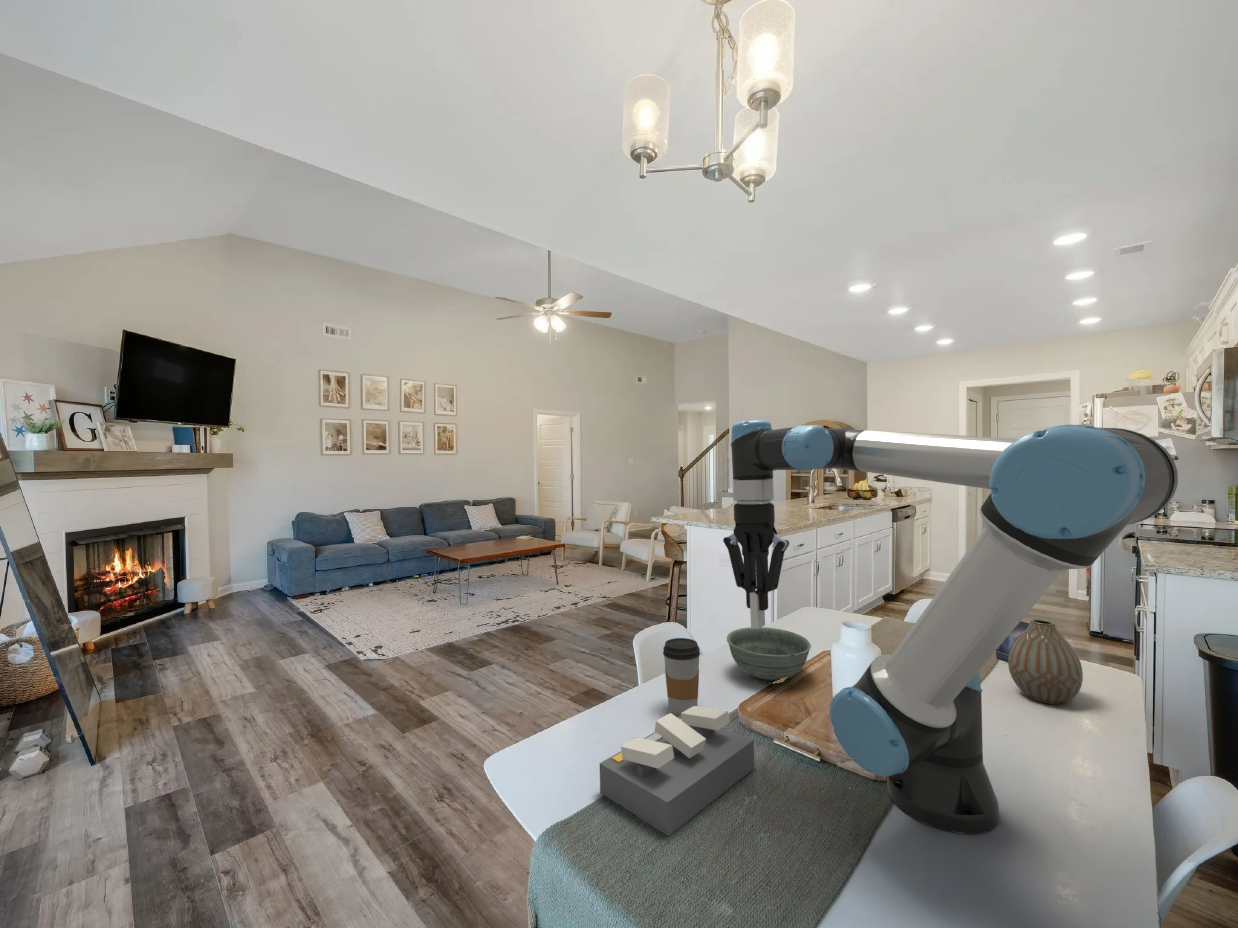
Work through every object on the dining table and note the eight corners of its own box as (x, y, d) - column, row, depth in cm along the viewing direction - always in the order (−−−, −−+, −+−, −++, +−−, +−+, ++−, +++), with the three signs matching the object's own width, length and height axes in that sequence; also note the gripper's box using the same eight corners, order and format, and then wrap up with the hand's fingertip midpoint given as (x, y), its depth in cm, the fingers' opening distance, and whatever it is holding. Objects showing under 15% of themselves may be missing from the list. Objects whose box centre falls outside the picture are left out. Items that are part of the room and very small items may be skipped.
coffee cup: (700, 720, 112) (699, 650, 112) (662, 717, 113) (660, 648, 113) (702, 702, 120) (700, 637, 120) (666, 700, 121) (664, 636, 122)
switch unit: (754, 767, 93) (753, 731, 94) (668, 836, 77) (667, 792, 77) (688, 738, 104) (687, 706, 104) (600, 792, 87) (599, 754, 87)
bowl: (737, 658, 147) (736, 622, 147) (815, 668, 138) (814, 631, 138) (718, 686, 129) (717, 646, 129) (807, 701, 119) (806, 657, 119)
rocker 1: (674, 757, 84) (672, 744, 84) (657, 768, 81) (655, 754, 81) (639, 749, 89) (637, 737, 89) (622, 758, 86) (620, 746, 87)
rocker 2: (703, 748, 89) (705, 738, 89) (689, 758, 86) (691, 747, 86) (669, 722, 95) (670, 712, 94) (654, 730, 92) (656, 720, 92)
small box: (994, 658, 142) (992, 620, 142) (1011, 655, 144) (1010, 617, 144) (1035, 672, 132) (1033, 631, 132) (1053, 669, 134) (1051, 628, 134)
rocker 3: (730, 722, 95) (727, 710, 95) (717, 730, 92) (715, 718, 92) (695, 716, 100) (693, 705, 101) (682, 724, 98) (680, 712, 98)
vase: (1097, 704, 114) (1094, 625, 114) (1060, 716, 109) (1058, 633, 110) (1031, 682, 126) (1029, 610, 127) (996, 692, 122) (993, 617, 122)
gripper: (795, 501, 97) (799, 628, 97) (734, 500, 106) (738, 616, 106) (776, 504, 92) (780, 638, 91) (713, 502, 101) (717, 624, 100)
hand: (758, 626), depth 98 cm, fingers closed
